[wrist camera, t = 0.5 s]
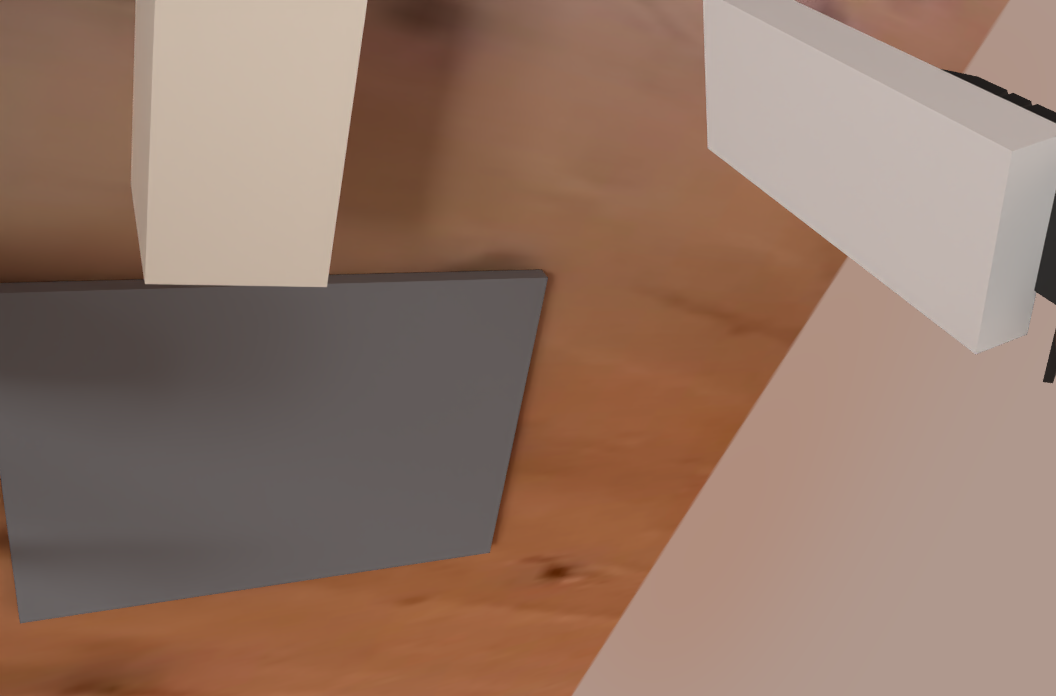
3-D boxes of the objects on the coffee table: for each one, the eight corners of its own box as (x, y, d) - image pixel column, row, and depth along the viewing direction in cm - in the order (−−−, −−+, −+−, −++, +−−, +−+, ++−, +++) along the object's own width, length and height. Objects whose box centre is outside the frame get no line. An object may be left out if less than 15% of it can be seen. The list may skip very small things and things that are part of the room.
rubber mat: (20, 610, 47) (20, 623, 46) (-23, 283, 38) (-24, 293, 37) (485, 543, 56) (489, 552, 56) (541, 269, 47) (547, 277, 47)
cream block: (130, 183, 38) (144, 284, 32) (141, -224, 31) (161, -194, 25) (286, 192, 40) (326, 287, 34) (328, -182, 34) (388, -145, 27)
